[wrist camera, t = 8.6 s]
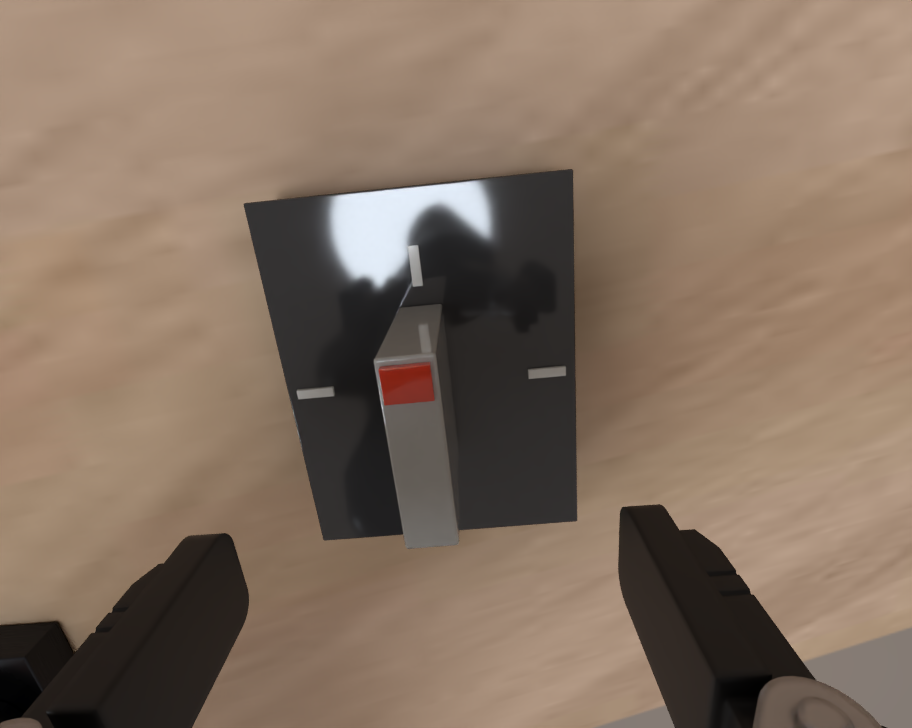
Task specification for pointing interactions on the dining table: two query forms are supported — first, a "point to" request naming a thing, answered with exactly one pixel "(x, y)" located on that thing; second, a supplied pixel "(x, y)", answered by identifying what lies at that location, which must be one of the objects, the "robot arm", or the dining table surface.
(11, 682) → the push button base
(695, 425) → the dining table surface
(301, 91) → the dining table surface
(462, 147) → the dining table surface
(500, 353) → the dark grey base plate
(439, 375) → the knob
